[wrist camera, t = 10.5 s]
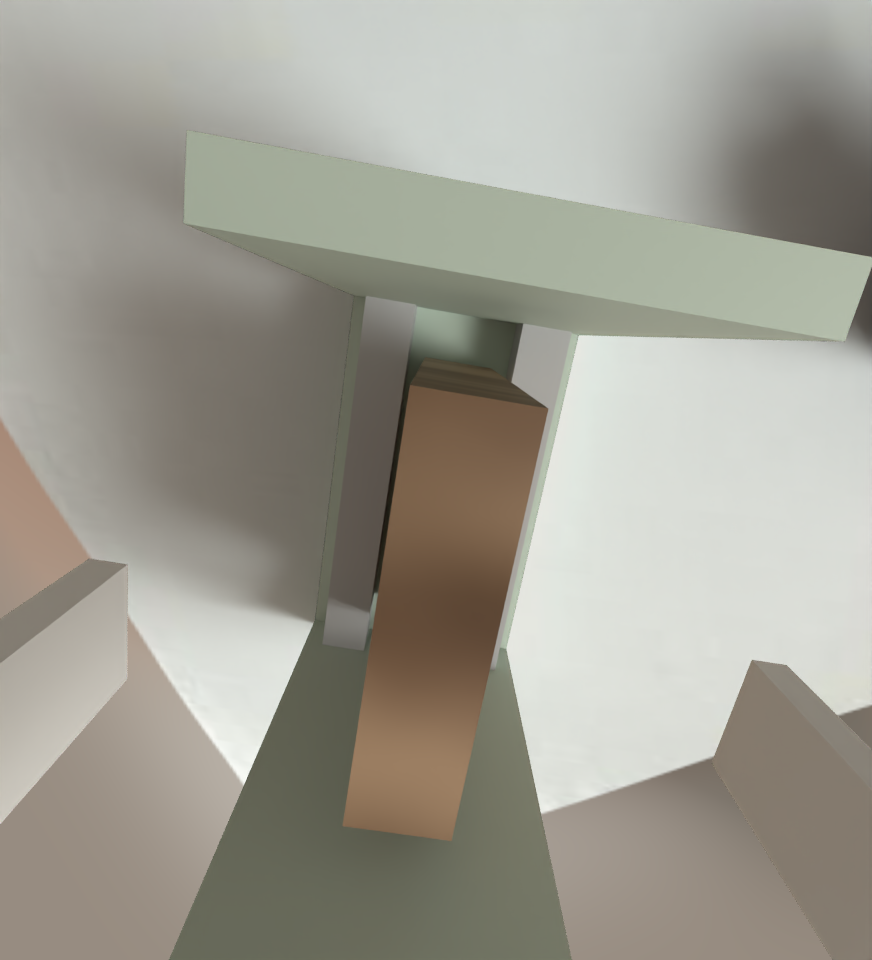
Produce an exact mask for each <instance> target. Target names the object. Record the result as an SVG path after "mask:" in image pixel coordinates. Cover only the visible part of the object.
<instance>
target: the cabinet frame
mask: <svg viewBox="0 0 872 960" xmlns="http://www.w3.org/2000/svg"><path fill="white" fill-rule="evenodd" d="M183 223H184V224H186V225H189V226H191V227H193V228H196V229H198V230H200V231H203V232H205V233H207V234H210V235H212V236H214V237H217V238H219V239H222V240H224V241H226V242H229V243H231V244H233V245H236V246H238V247H240V248H243V249H245V250H247V251H250V252H252V253H254V254H257V255H259V256H262V257H264V258H266V259H269V260H271V261H273V262H276V263H278V264H280V265H283V266H285V267H287V268H290V269H292V270H295V271H297V272H299V273H302V274H304V275H306V276H309V277H311V278H313V279H316V280H318V281H320V282H323V283H325V284H328V285H330V286H332V287H335V288H337V289H339V290H342V291H344V292H346V293H349V294H351V295H353V296H354V299H353V307H352V315H351V324H350V332H349V340H348V349H347V357H346V365H345V374H344V382H343V391H342V399H341V407H340V416H339V424H338V432H337V441H336V449H335V457H334V466H333V474H332V483H331V491H330V499H329V508H328V516H327V524H326V533H325V541H324V549H323V558H322V566H321V575H320V583H319V591H318V600H317V608H316V616H315V621H314V624H313V626H312V628H311V631H310V633H309V635H308V638H307V640H306V642H305V645H304V647H303V649H302V652H301V654H300V656H299V659H298V661H297V663H296V666H295V668H294V670H293V673H292V675H291V677H290V680H289V682H288V684H287V687H286V689H285V691H284V694H283V696H282V698H281V701H280V703H279V705H278V708H277V710H276V712H275V714H274V717H273V719H272V721H271V724H270V726H269V728H268V731H267V733H266V735H265V738H264V740H263V742H262V745H261V747H260V749H259V752H258V754H257V756H256V759H255V761H254V763H253V766H252V768H251V770H250V773H249V775H248V777H247V780H246V782H245V784H244V787H243V789H242V791H241V794H240V796H239V798H238V801H237V803H236V805H235V807H234V810H233V812H232V815H231V817H230V819H229V821H228V824H227V826H226V829H225V831H224V833H223V835H222V838H221V840H220V842H219V845H218V847H217V850H216V852H215V854H214V856H213V859H212V861H211V863H210V866H209V868H208V870H207V873H206V875H205V877H204V880H203V882H202V884H201V887H200V889H199V891H198V894H197V896H196V898H195V901H194V903H193V905H192V907H191V910H190V912H189V914H188V917H187V919H186V921H185V924H184V926H183V928H182V931H181V933H180V936H179V938H178V940H177V942H176V945H175V947H174V950H173V952H172V954H171V956H170V959H169V960H572V959H571V955H570V949H569V945H568V940H567V935H566V930H565V926H564V921H563V916H562V912H561V907H560V902H559V897H558V893H557V888H556V883H555V879H554V874H553V869H552V864H551V859H550V855H549V850H548V845H547V840H546V836H545V831H544V827H543V822H542V817H541V812H540V807H539V803H538V798H537V793H536V788H535V784H534V779H533V774H532V769H531V765H530V760H529V755H528V750H527V746H526V741H525V736H524V732H523V727H522V722H521V717H520V713H519V708H518V703H517V698H516V694H515V689H514V684H513V679H512V675H511V670H510V665H509V661H508V656H507V651H506V647H507V643H508V639H509V634H510V630H511V626H512V621H513V617H514V613H515V609H516V604H517V600H518V596H519V591H520V587H521V583H522V578H523V574H524V570H525V565H526V561H527V557H528V552H529V548H530V544H531V539H532V535H533V531H534V526H535V522H536V518H537V513H538V509H539V505H540V500H541V496H542V492H543V487H544V483H545V479H546V475H547V470H548V466H549V462H550V457H551V453H552V449H553V444H554V440H555V436H556V431H557V427H558V423H559V418H560V414H561V410H562V405H563V401H564V397H565V392H566V388H567V384H568V379H569V375H570V371H571V366H572V362H573V358H574V353H575V349H576V345H577V341H578V336H579V335H592V336H634V337H676V338H717V339H759V340H801V341H843V342H845V340H846V337H847V334H848V331H849V329H850V326H851V323H852V320H853V317H854V315H855V312H856V309H857V306H858V304H859V301H860V298H861V295H862V293H863V290H864V287H865V284H866V282H867V279H868V276H869V273H870V271H871V268H872V257H868V256H863V255H858V254H852V253H847V252H841V251H836V250H831V249H825V248H820V247H815V246H809V245H804V244H798V243H793V242H788V241H782V240H777V239H771V238H766V237H761V236H755V235H750V234H745V233H739V232H734V231H728V230H723V229H718V228H712V227H707V226H701V225H696V224H691V223H685V222H680V221H674V220H669V219H664V218H658V217H653V216H648V215H642V214H637V213H631V212H626V211H621V210H615V209H610V208H604V207H599V206H594V205H588V204H583V203H578V202H572V201H567V200H561V199H556V198H551V197H545V196H540V195H534V194H529V193H524V192H518V191H513V190H507V189H502V188H497V187H491V186H486V185H481V184H475V183H470V182H464V181H459V180H454V179H448V178H443V177H437V176H432V175H427V174H421V173H416V172H411V171H405V170H400V169H394V168H389V167H384V166H378V165H373V164H367V163H362V162H357V161H351V160H346V159H341V158H335V157H330V156H324V155H319V154H314V153H308V152H303V151H297V150H292V149H287V148H281V147H276V146H270V145H265V144H260V143H254V142H249V141H244V140H238V139H233V138H227V137H222V136H217V135H211V134H206V133H200V132H195V131H190V130H187V135H186V162H185V189H184V216H183ZM425 357H428V358H434V359H439V360H445V361H451V362H457V363H463V364H469V365H474V366H480V367H486V368H491V369H493V370H494V371H496V372H497V373H498V374H500V375H501V376H503V377H504V378H506V379H507V380H508V381H510V382H511V383H513V384H514V385H516V386H517V387H518V388H520V389H521V390H523V391H524V392H526V393H527V394H528V395H530V396H531V397H533V398H534V399H536V400H537V401H538V402H540V403H541V404H543V405H544V406H546V407H547V408H548V413H547V418H546V422H545V427H544V431H543V436H542V440H541V444H540V449H539V453H538V458H537V462H536V467H535V471H534V476H533V480H532V485H531V489H530V493H529V498H528V502H527V507H526V511H525V516H524V520H523V525H522V529H521V534H520V538H519V542H518V547H517V551H516V556H515V560H514V565H513V569H512V574H511V578H510V582H509V587H508V591H507V596H506V600H505V605H504V609H503V614H502V618H501V623H500V627H499V631H498V636H497V640H496V645H495V649H494V654H493V658H492V663H491V667H490V672H489V676H488V680H487V685H486V689H485V694H484V698H483V703H482V707H481V712H480V716H479V720H478V725H477V729H476V734H475V738H474V743H473V747H472V752H471V756H470V761H469V765H468V769H467V774H466V778H465V783H464V787H463V792H462V796H461V801H460V805H459V810H458V814H457V818H456V823H455V827H454V832H453V836H452V841H447V840H440V839H433V838H425V837H418V836H411V835H403V834H396V833H389V832H381V831H374V830H367V829H359V828H352V827H345V826H343V819H344V813H345V806H346V800H347V793H348V787H349V780H350V774H351V767H352V761H353V754H354V747H355V741H356V734H357V728H358V721H359V715H360V708H361V702H362V695H363V689H364V682H365V675H366V669H367V662H368V656H369V649H370V643H371V636H372V630H373V623H374V617H375V610H376V603H377V597H378V590H379V584H380V577H381V571H382V564H383V558H384V551H385V545H386V538H387V531H388V525H389V518H390V512H391V505H392V499H393V492H394V486H395V479H396V473H397V466H398V460H399V453H400V446H401V440H402V433H403V427H404V420H405V414H406V407H407V401H408V394H409V388H410V384H411V382H412V380H413V378H414V377H415V375H416V373H417V371H418V369H419V368H420V366H421V364H422V362H423V360H424V358H425Z"/></svg>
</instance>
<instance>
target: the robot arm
mask: <svg viewBox="0 0 872 960" xmlns="http://www.w3.org/2000/svg"><path fill="white" fill-rule="evenodd" d="M127 591H128V565H127V564H121V563H114V562H108V561H101V560H95V559H88V560H87V561H85V562H84V563H82V564H81V565H79V566H78V567H76V568H75V569H73V570H72V571H70V572H69V573H67V574H66V575H64V576H63V577H61V578H60V579H58V580H57V581H55V582H54V583H53V584H51V585H49V586H48V587H47V588H45V589H44V590H42V591H41V592H39V593H38V594H36V595H35V596H33V597H32V598H30V599H29V600H27V601H26V602H24V603H23V604H21V605H20V606H18V607H17V608H15V609H14V610H13V611H11V612H10V613H8V614H7V615H5V616H4V617H2V618H1V619H0V823H1V822H2V821H3V820H4V819H5V818H6V817H7V816H8V814H9V813H10V812H11V811H12V810H13V809H14V808H15V807H16V805H17V804H18V803H19V802H20V801H21V800H22V799H23V797H24V796H25V795H26V794H27V793H28V792H29V791H30V789H31V788H32V787H33V786H34V785H35V784H36V783H37V781H38V780H39V779H40V778H41V777H42V776H43V775H44V773H45V772H46V771H47V770H48V769H49V768H50V767H51V765H52V764H53V763H54V762H55V761H56V760H57V759H58V758H59V756H60V755H61V754H62V753H63V752H64V751H65V750H66V748H67V747H68V746H69V745H70V744H71V743H72V741H73V740H74V739H75V738H76V737H77V736H78V734H80V732H81V731H82V730H83V729H84V728H85V727H86V726H87V724H88V723H89V722H90V721H91V720H92V719H93V717H94V716H95V715H96V714H97V713H98V712H99V711H100V710H101V708H102V707H103V706H104V705H105V704H106V703H107V702H108V700H109V699H110V698H111V697H112V696H113V695H114V694H115V692H116V691H117V690H118V689H119V688H120V687H121V686H122V684H123V683H124V682H125V681H126V680H127ZM712 765H713V766H714V768H715V770H716V771H717V773H718V774H719V776H720V778H721V779H722V781H723V783H724V784H725V786H726V788H727V789H728V791H729V792H730V794H731V796H732V797H733V799H734V801H735V802H736V804H737V805H738V807H739V808H740V810H741V812H742V813H743V815H744V817H745V819H746V820H747V822H748V823H749V825H750V827H751V828H752V830H753V832H754V833H755V835H756V836H757V838H758V840H759V841H760V843H761V845H762V846H763V848H764V849H765V851H766V853H767V854H768V856H769V857H770V859H771V861H772V862H773V864H774V866H775V867H776V869H777V870H778V872H779V874H780V875H781V877H782V879H783V880H784V882H785V883H786V885H787V887H788V888H789V890H790V892H791V893H792V895H793V897H794V898H795V900H796V902H797V903H798V905H799V906H800V908H801V910H802V911H803V913H804V915H805V916H806V918H807V919H808V921H809V923H810V924H811V926H812V928H813V929H814V931H815V932H816V934H817V936H818V937H819V939H820V941H821V942H822V944H823V945H824V947H825V949H826V950H827V952H828V954H829V955H830V957H831V958H832V960H872V749H871V748H870V747H869V746H868V745H867V744H866V743H865V742H864V741H862V739H861V738H860V737H858V736H857V735H856V734H855V733H854V732H853V731H852V730H851V729H850V728H849V727H848V726H847V725H846V724H845V723H844V722H843V721H842V720H841V719H840V718H839V717H838V716H837V715H836V714H835V713H834V712H833V711H832V710H831V709H830V708H829V707H828V706H827V705H826V704H825V703H824V702H823V701H822V700H821V699H820V698H819V697H818V696H817V695H816V694H815V693H814V692H813V691H812V690H811V689H810V688H809V687H808V686H807V685H806V684H805V683H804V682H803V681H802V680H801V679H800V678H799V677H798V676H797V675H796V674H795V673H794V672H793V671H792V670H791V669H790V668H789V667H788V666H787V665H782V664H775V663H769V662H762V661H756V660H752V661H751V664H750V666H749V669H748V671H747V674H746V676H745V679H744V682H743V684H742V687H741V689H740V692H739V694H738V697H737V699H736V702H735V705H734V707H733V710H732V712H731V715H730V717H729V720H728V722H727V725H726V728H725V730H724V733H723V735H722V738H721V740H720V743H719V745H718V748H717V751H716V753H715V756H714V758H713V761H712Z"/></svg>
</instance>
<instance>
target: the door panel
mask: <svg viewBox="0 0 872 960" xmlns="http://www.w3.org/2000/svg"><path fill="white" fill-rule="evenodd" d="M547 413H548V408H547V407H546V406H544V405H543V404H541V403H540V402H538V401H537V400H536V399H534V398H533V397H531V396H530V395H528V394H527V393H526V392H524V391H523V390H521V389H520V388H518V387H517V386H516V385H514V384H513V383H511V382H510V381H508V380H507V379H506V378H504V377H503V376H501V375H500V374H498V373H497V372H496V371H494V370H493V369H491V368H486V367H480V366H474V365H469V364H463V363H457V362H451V361H445V360H439V359H434V358H428V357H425V358H424V360H423V362H422V364H421V366H420V368H419V369H418V371H417V373H416V375H415V377H414V378H413V380H412V382H411V384H410V388H409V394H408V401H407V407H406V414H405V420H404V427H403V433H402V440H401V446H400V453H399V460H398V466H397V473H396V479H395V486H394V492H393V499H392V505H391V512H390V518H389V525H388V531H387V538H386V545H385V551H384V558H383V564H382V571H381V577H380V584H379V590H378V597H377V603H376V610H375V617H374V623H373V630H372V636H371V643H370V649H369V656H368V662H367V669H366V675H365V682H364V689H363V695H362V702H361V708H360V715H359V721H358V728H357V734H356V741H355V747H354V754H353V761H352V767H351V774H350V780H349V787H348V793H347V800H346V806H345V813H344V819H343V826H345V827H352V828H359V829H367V830H374V831H381V832H389V833H396V834H403V835H411V836H418V837H425V838H433V839H440V840H447V841H452V836H453V832H454V827H455V823H456V818H457V814H458V810H459V805H460V801H461V796H462V792H463V787H464V783H465V778H466V774H467V769H468V765H469V761H470V756H471V752H472V747H473V743H474V738H475V734H476V729H477V725H478V720H479V716H480V712H481V707H482V703H483V698H484V694H485V689H486V685H487V680H488V676H489V672H490V667H491V663H492V658H493V654H494V649H495V645H496V640H497V636H498V631H499V627H500V623H501V618H502V614H503V609H504V605H505V600H506V596H507V591H508V587H509V582H510V578H511V574H512V569H513V565H514V560H515V556H516V551H517V547H518V542H519V538H520V534H521V529H522V525H523V520H524V516H525V511H526V507H527V502H528V498H529V493H530V489H531V485H532V480H533V476H534V471H535V467H536V462H537V458H538V453H539V449H540V444H541V440H542V436H543V431H544V427H545V422H546V418H547Z"/></svg>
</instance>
